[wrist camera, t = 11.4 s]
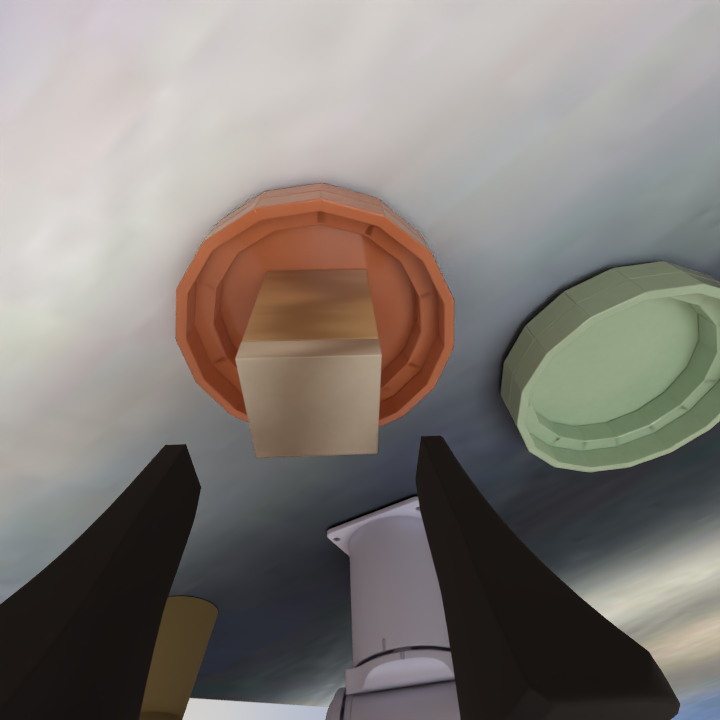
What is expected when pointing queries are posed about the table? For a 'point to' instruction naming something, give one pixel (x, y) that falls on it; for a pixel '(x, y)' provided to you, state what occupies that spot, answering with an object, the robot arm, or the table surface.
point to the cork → (177, 657)
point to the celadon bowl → (618, 368)
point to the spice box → (312, 365)
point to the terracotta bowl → (317, 252)
